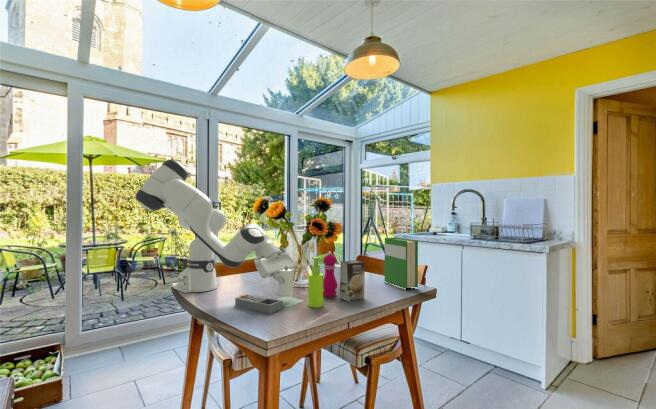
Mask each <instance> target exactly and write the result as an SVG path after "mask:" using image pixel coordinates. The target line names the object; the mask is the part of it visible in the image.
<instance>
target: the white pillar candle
mask: <svg viewBox="0 0 656 409" xmlns="http://www.w3.org/2000/svg"><path fill="white" fill-rule="evenodd" d="M294 269H295V268H294ZM294 269H288V266H285V269H283V270H279V276H280V277H281V278H283V279H284V282H283V283H282V284H280V283H279V282H278V296H280V297H281V296H282V297H284V296H285V297H291V296H292V295H293V294H294V277H295V276H294V272H295V270H294Z"/></svg>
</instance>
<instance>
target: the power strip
mask: <svg viewBox="0 0 656 409" xmlns="http://www.w3.org/2000/svg"><path fill="white" fill-rule="evenodd" d="M234 299H235V301H234V304H235V305H234V306H235V307H239V308H243V309H247V310H251V311H255V312H260V313H263V314H268V315H271V314H274V313H277V312H279V311H281V310H283V309H284V308H283V307H284V306H283V301H280V300H276V299H274V298H268V297H265V296H260V295H256V294H254V295H253V294H249V293H248V294H247V293H244V294H241V295H240V296H237V297H235V298H234Z"/></svg>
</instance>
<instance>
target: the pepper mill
mask: <svg viewBox="0 0 656 409" xmlns="http://www.w3.org/2000/svg"><path fill="white" fill-rule="evenodd" d="M323 257H325V258H324V259H323V258H322V263H323V264H324V265H323V269H324V272H325V273H324V276H323V297H326V298H332V297H334V298H335V297H336V296H337V291H336V290H337V289H338V281H337V279H336V276H335V269H336V265H335V264H336V263H337V257H336V256H335V255H333V253H332V251H330V250H329V251H328V252H327V254H326V255H324V256H323Z"/></svg>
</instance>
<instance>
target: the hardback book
mask: <svg viewBox="0 0 656 409" xmlns="http://www.w3.org/2000/svg"><path fill="white" fill-rule="evenodd" d="M418 273H419V240H416V239H411V238H409V239H408V238H403V237H396V236H395V237H384V282H385V281H386V282H388V283H391V284H394V285H397V286H400V287H403V288H411V287H418V288H419V285H418V284H419V279H418V278H419V274H418ZM411 289H412V288H411Z"/></svg>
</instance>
